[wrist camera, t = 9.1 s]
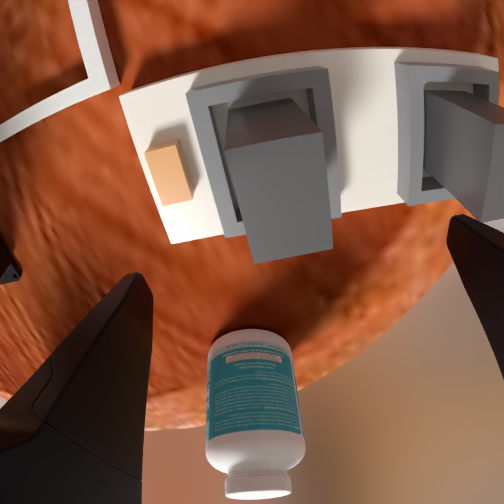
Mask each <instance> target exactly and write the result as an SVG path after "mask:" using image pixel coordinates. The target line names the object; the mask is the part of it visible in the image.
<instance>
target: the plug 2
mask: <svg viewBox="0 0 504 504" xmlns="http://www.w3.org/2000/svg"><path fill="white" fill-rule="evenodd" d="M423 169H425V170H426V171H427V172H428V173H429V174H430V175H431V176H432V177H434V178H435V179H436V180H437V181H438V182H439V183H440V184H441V185H442V186H443V187H444V188H446V189H447V190H448V191H449V192H450V193H451V194H452V195H453V196H454V197H455V198H456V199H457V200H458V201H459V202H460V203H461V204H462V205H463V206H464V207H465V208H466V209H467V210H468V211H469V212H470V213H471V214H472V215H473V216H474V217H475V218H476V219H477V220H478V221H480V222H482V223H483V222H488V221H492V220H497V219H502V218H504V108H503V107H501V106H498V105H496V104H494V103H492V102H489V101H487V100H485V99H483V98H480V97H478V96H475V95H473V94H470V93H468V92H465V91H454V90H424V155H423Z"/></svg>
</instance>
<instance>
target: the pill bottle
mask: <svg viewBox="0 0 504 504" xmlns="http://www.w3.org/2000/svg"><path fill="white" fill-rule="evenodd" d="M304 454H305V440H304V433H303V426H302V419H301V413H300V406H299V399H298V392H297V385H296V379H295V372H294V365H293V359H292V353H291V349H290V346H289V344H288V343H287V342H286V340H285V339H283V338H282V337H281V336H279V335H278V334H275V333H273V332H270V331H267V330H261V329H242V330H237V331H233V332H230V333H227V334H225V335H223V336H221V337H220V338H218V339H217V340H216V341H215V342H214V343H213V344H212V346H211V348H210V350H209V354H208V371H207V405H206V457H207V459H208V461H209V463H210V464H211V465H212V466H213V467H214V468H216V469H218V470H220V471H222V472H224V473H227V474H228V478H227V479H226V482H225V495H226V497H228V498H232V499H244V500H245V499H246V500H247V499H249V500H252V499H266V498H275V497H281V496H285V495H288V494H290V493H291V479H290V478H289V476H288V475H287V474H286V471H287V470H288V469H290V468H292V467H294V466H296V465H297V464H298V463H299V462H300V461H301V460H302V458H303V456H304Z"/></svg>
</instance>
